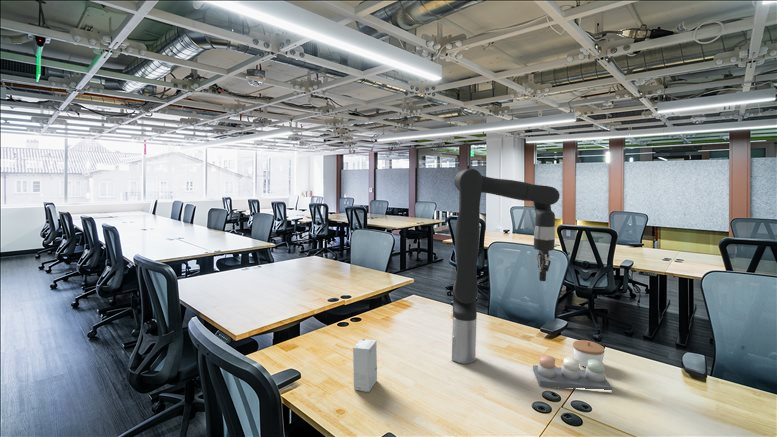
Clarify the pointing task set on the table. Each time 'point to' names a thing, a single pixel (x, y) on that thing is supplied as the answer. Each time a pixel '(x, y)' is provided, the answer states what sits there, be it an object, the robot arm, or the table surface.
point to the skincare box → (365, 365)
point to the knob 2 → (595, 366)
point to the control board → (569, 382)
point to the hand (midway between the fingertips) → (542, 280)
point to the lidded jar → (587, 351)
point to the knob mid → (571, 364)
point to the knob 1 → (547, 362)
